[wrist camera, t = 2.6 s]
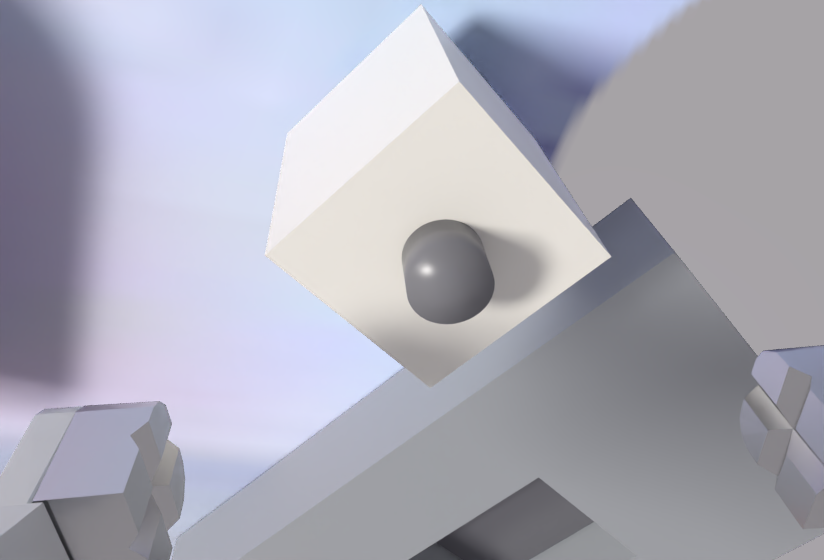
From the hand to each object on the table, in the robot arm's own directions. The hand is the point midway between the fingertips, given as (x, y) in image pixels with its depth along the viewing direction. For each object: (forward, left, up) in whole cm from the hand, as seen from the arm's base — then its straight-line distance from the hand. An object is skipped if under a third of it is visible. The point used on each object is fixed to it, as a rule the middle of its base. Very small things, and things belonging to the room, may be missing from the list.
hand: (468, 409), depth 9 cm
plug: (-1, -1, -10) cm, 10 cm away
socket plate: (+6, +12, -10) cm, 17 cm away
